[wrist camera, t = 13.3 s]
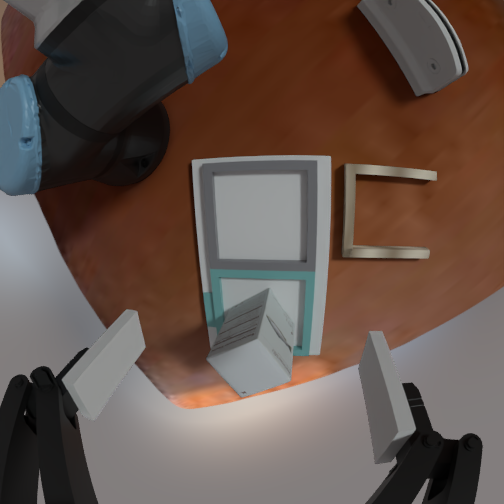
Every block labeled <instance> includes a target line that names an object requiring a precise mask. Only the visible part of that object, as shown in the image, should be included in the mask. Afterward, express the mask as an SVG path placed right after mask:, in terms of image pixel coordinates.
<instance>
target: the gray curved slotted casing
mask: <svg viewBox="0 0 504 504" xmlns="http://www.w3.org/2000/svg"><path fill="white" fill-rule="evenodd" d="M357 7H358V8H359V9H360V10H361V12H362V13H363V14H364V15H365V17H366V18H367V19H368V21H369V22H370V23H371V25H372V26H373V27H374V29H375V30H376V31H377V33H378V34H379V36H380V37H381V38H382V40H383V41H384V43H385V44H386V46H387V47H388V49H389V50H390V52H391V53H392V55H393V57H394V58H395V60H396V61H397V63H398V65H399V66H400V68H401V70H402V71H403V73H404V75H405V76H406V78H407V80H408V82H409V83H410V85H411V87H412V89H413V91H414V93H415V95H416V96H420V95H422V94H425V93H434V92H436V91H437V92H438V91H440V90H441V89H443V88H444V87H446V86H447V85H449V84H451V83H452V82H454V81H455V80H457V79H458V78H460V77H462V76H463V75H465V74H466V73H467V71H468V64H467V60H466V57H465V54H464V50H463V48H462V45H461V43H460V41H459V38H458V36H457V34H456V32H455V31H454V29H453V27H452V26H451V24H450V22H449V21H448V19H447V18H446V17H445V15H444V14H443V13H442V12H441V10H440V9H439V8H438V7H437V6H436V5H435V4H434V3H433V2H432V1H431V0H362V1H361V2H360V3H359V4H358V5H357Z"/></svg>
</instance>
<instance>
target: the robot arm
mask: <svg viewBox="0 0 504 504" xmlns="http://www.w3.org/2000/svg"><path fill="white" fill-rule="evenodd" d="M4 1H5V2H7V3H8V4H9V5H11V6H12V7H14V8H15V9H16V10H18V11H19V12H21V13H22V14H23V15H25V16H26V17H28V18H29V19H30V20H32V21H33V22H34V25H35V41H34V47H35V48H36V49H37V50H38V51H40V52H41V53H43V54H44V55H45V56H47V57H48V58H47V59H46V60H45V61H44V63H43V64H42V65H41V66H40V67H39V69H38V70H37V71H36V72H35V74H34V75H33V76H31V77H28V76H27V75H23V74H22V75H20V76H16V77H14V78H10V79H9V80H7V81H6V82H5V83H4V84H3V85H2V87H1V88H0V190H2V191H4V192H5V193H6V194H7V195H11V196H16V195H24V194H34V193H36V192H38V191H41V190H45V189H49V188H53V187H58V186H62V185H66V184H71V183H75V182H80V181H85V180H89V179H93V180H96V181H99V182H102V183H105V184H108V185H112V186H124V185H129V184H133V183H137V182H139V181H141V180H143V179H145V178H146V177H147V176H149V175H150V174H151V173H152V172H153V171H154V170H155V169H156V168H157V166H158V165H159V163H160V162H161V160H162V158H163V156H164V154H165V152H166V149H167V146H168V141H169V134H170V126H169V119H168V115H167V112H166V109H165V107H164V105H163V104H162V102H161V101H162V100H163V99H165V98H166V97H168V96H169V95H171V94H172V93H174V92H175V91H177V90H178V89H180V88H181V87H183V86H184V85H186V84H187V83H188V84H191V83H192V82H193V81H194V79H195V78H196V77H197V76H199V75H200V74H202V73H203V72H205V71H206V70H208V69H210V68H211V67H213V66H214V65H216V64H217V63H219V62H220V61H221V60H222V59H223V58H224V57H225V55H226V53H227V49H228V43H227V38H226V35H225V32H224V30H223V27H222V25H221V23H220V20H219V18H218V16H217V14H216V12H215V9H214V7H213V5H212V3H211V1H210V0H4ZM145 347H146V346H145V342H144V338H143V334H142V330H141V326H140V322H139V317H138V313H137V311H134V310H128V309H126V310H125V311H124V313H123V314H122V315H121V316H120V317H119V318H118V319H117V320H116V321H115V322H114V323H113V324H112V325H111V326H110V327H109V328H108V329H107V330H106V331H105V332H104V333H103V335H102V336H101V337H100V338H99V339H98V340H97V341H96V342H95V343H94V344H93V345H92V346H91V347H90V349H89V348H85V349H83V350H81V351H80V352H78V354H77V355H76V356H75V357H74V359H72V360H71V361H70V362H69V363H68V364H67V365H66V367H65V368H64V369H63V370H62V371H61V372H60V373H59V374H58V376H56V378H55V377H54V375H53V373H52V371H51V370H50V369H49V368H48V367H45V366H41V367H38V368H36V369H35V370H33V371H32V373H31V375H30V378H31V380H32V382H33V383H30V382H29V380H28V378H27V377H26V376H25V375H17V376H15V377H13V378H12V379H11V381H10V383H9V385H8V388H7V390H6V393H5V395H4V398H3V401H2V404H1V406H0V504H37V491H38V478H39V469H40V474H41V481H42V488H43V493H44V498H45V503H46V504H98V501H97V498H96V495H95V492H94V489H93V486H92V482H91V478H90V475H89V471H88V467H87V463H86V458H85V454H84V450H83V444H82V439H81V434H80V428H79V422H78V417H77V414H76V412H77V411H78V410H79V411H80V412H81V414H82V416H83V417H85V418H87V419H90V420H92V421H95V420H96V418H97V417H98V415H99V414H100V412H101V411H102V409H103V408H104V406H105V405H106V403H107V402H108V400H109V399H110V397H111V396H112V394H113V393H114V392H115V390H116V389H117V387H118V386H119V384H120V383H121V381H122V380H123V378H124V377H125V376H126V374H127V373H128V371H129V370H130V369H131V367H132V366H133V364H134V363H135V361H136V360H137V359H138V357H139V356H140V354H141V353H142V352H143V350H144V349H145ZM358 369H359V374H360V379H361V383H362V388H363V394H364V399H365V404H366V409H367V415H368V421H369V426H370V432H371V439H372V445H373V453H374V460H375V464H380V463H387V462H391V461H392V460H393V459H394V457H395V456H396V460H397V464H396V465H395V466H394V467H393V468H392V469H391V470H390V471H389V474H388V476H387V477H386V478H385V480H384V481H383V483H382V484H381V485H380V486H379V488H378V489H377V490H376V492H375V493H374V494H373V495H372V496H371V498H370V499H369V500H368V501H367V502H366V503H365V504H412V502H413V500H414V499H415V497H416V496H417V494H418V493H419V491H420V489H421V488H422V486H423V484H424V483H425V481H426V479H430V480H429V483H428V486H427V490H426V493H425V496H424V499H423V502H422V504H474V502H475V497H476V492H477V486H478V481H479V474H480V467H481V458H482V447H483V446H482V441H481V439H480V438H479V437H478V436H477V435H475V434H472V433H469V434H466V435H464V436H463V437H462V438H461V439H460V440H450V439H444V438H443V437H442V436H441V434H439V433H438V432H436V431H433V429H432V426H431V423H430V420H429V417H428V414H427V411H426V409H425V406H424V403H423V401H422V399H421V395H420V392H419V390H418V389H417V387H416V386H415V385H414V384H413V383H401V380H400V377H399V375H398V372H397V369H396V366H395V364H394V361H393V358H392V355H391V353H390V350H389V347H388V345H387V342H386V340H385V337H384V335H383V332H382V331H369V333H368V337H367V341H366V344H365V348H364V351H363V355H362V358H361V361H360V364H359V368H358ZM25 411H26V415H24V412H25Z"/></svg>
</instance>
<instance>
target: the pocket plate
mask: <svg viewBox="0 0 504 504" xmlns="http://www.w3.org/2000/svg"><path fill="white" fill-rule="evenodd" d="M192 172H193V188H194V203H195V216H196V228H197V239H198V249H199V259H200V269H201V278H202V287H203V296H204V304H205V312H206V320H207V327H208V334H209V341H210V347H211V348H212V346H213V344H214V342H215V340H216V338H217V335H218V333H219V331H220V329H221V327H222V325H223V323H224V320H225V318H226V316H227V314H228V312H229V310H230V308H232V307H233V306H235V305H237V304H239V303H241V302H243V301H245V300H247V299H249V298H251V297H253V296H255V295H257V294H258V293H260V292H262V291H264V290H266V289H268V288H271V290H272V292H273V293H274V295H275V296H276V298H277V299H278V301H279V302H280V304H281V305H282V307H283V308H284V310H285V311H286V313H287V314H288V316H289V317H290V318H291V320H292V321H293V322H294V323H295V330H294V346H293V356H309V355H320V348H321V340H322V331H323V322H324V312H325V301H326V289H327V276H328V261H329V242H330V215H331V156H300V155H287V156H246V157H226V158H211V159H199V160H192Z"/></svg>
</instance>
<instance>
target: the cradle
mask: <svg viewBox="0 0 504 504" xmlns="http://www.w3.org/2000/svg"><path fill="white" fill-rule="evenodd" d="M356 174H369V175H384V176H397V177H408V178H418V179H427V180H436V181H437V172H435V171H427V170H419V169H410V168H400V167H389V166H376V165H361V164H344V217H343V238H342V256H343V257H358V258H429V253H430V250H429V249H428V248H426V247H401V246H355V245H353V234H354V215H355V181H356Z"/></svg>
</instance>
